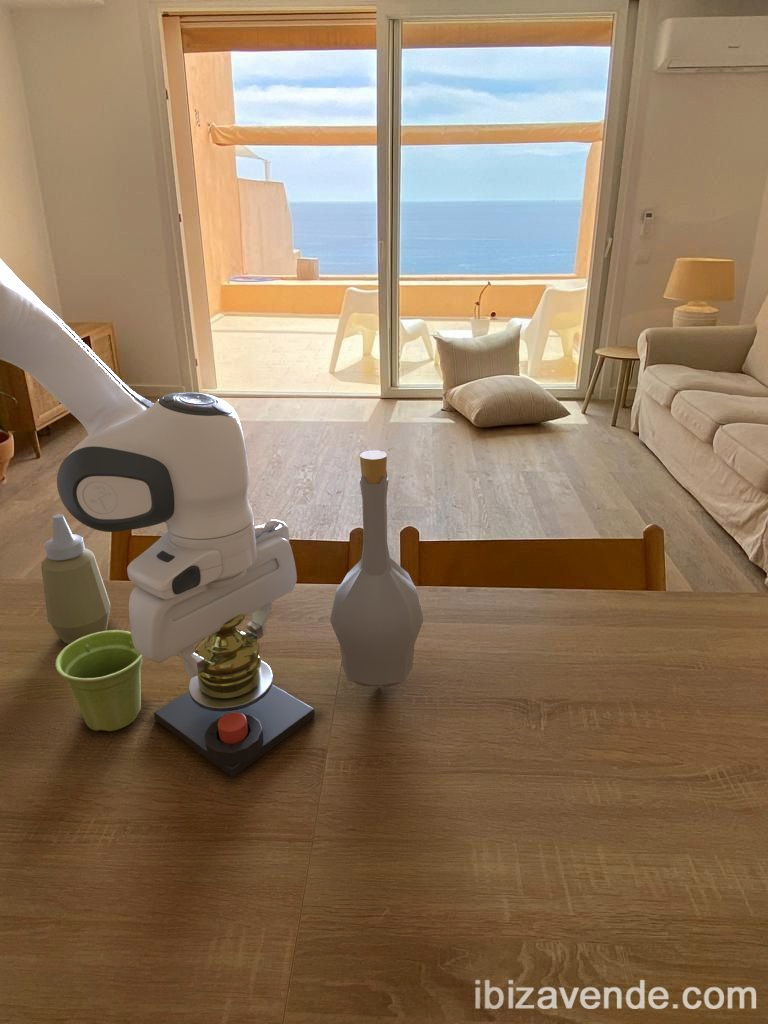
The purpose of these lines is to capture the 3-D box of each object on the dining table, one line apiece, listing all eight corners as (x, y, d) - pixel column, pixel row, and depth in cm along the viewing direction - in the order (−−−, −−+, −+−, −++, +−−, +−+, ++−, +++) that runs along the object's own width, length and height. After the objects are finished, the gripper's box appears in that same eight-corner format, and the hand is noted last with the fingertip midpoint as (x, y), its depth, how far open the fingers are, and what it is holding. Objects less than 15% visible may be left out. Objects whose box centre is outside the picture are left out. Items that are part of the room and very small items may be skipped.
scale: (151, 722, 80) (147, 701, 78) (236, 670, 88) (234, 650, 87) (232, 783, 71) (229, 760, 70) (317, 718, 80) (316, 697, 79)
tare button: (213, 735, 74) (211, 723, 73) (235, 720, 76) (234, 708, 75) (231, 748, 72) (229, 735, 71) (253, 732, 74) (252, 720, 73)
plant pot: (133, 679, 87) (121, 620, 83) (171, 714, 81) (160, 653, 77) (57, 714, 81) (42, 653, 78) (92, 756, 75) (76, 691, 71)
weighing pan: (172, 688, 81) (171, 684, 80) (237, 650, 87) (236, 646, 87) (224, 724, 75) (224, 719, 75) (289, 680, 82) (289, 676, 81)
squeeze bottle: (122, 637, 95) (98, 519, 88) (59, 658, 91) (29, 535, 84) (107, 611, 101) (83, 498, 94) (47, 630, 97) (18, 513, 90)
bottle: (352, 727, 79) (342, 481, 66) (319, 671, 88) (305, 446, 76) (440, 699, 83) (446, 463, 70) (399, 649, 92) (399, 432, 80)
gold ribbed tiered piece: (257, 655, 85) (249, 584, 81) (267, 692, 79) (259, 617, 75) (195, 667, 83) (184, 595, 79) (200, 706, 77) (189, 630, 72)
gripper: (267, 507, 83) (276, 606, 88) (111, 573, 68) (133, 686, 74) (305, 521, 79) (311, 623, 85) (147, 593, 65) (168, 711, 70)
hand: (227, 653), depth 79 cm, fingers closed on gold ribbed tiered piece, 7 cm apart
